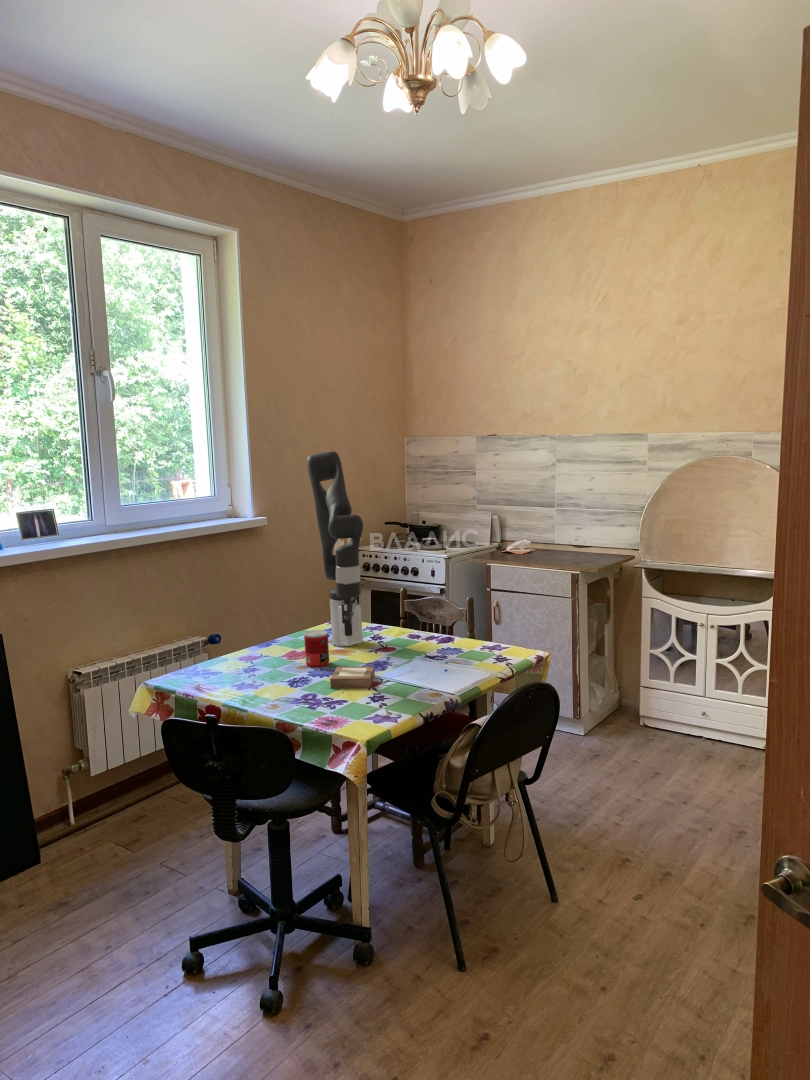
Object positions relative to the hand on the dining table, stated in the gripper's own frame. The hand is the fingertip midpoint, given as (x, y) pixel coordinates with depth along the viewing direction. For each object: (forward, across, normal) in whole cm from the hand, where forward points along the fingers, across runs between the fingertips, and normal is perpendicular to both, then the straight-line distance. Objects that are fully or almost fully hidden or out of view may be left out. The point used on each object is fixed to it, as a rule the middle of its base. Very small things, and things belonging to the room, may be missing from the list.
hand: (350, 632), depth 230 cm
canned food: (+16, -18, -15) cm, 28 cm away
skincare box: (+4, 0, 0) cm, 4 cm away
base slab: (+16, 0, 0) cm, 16 cm away
